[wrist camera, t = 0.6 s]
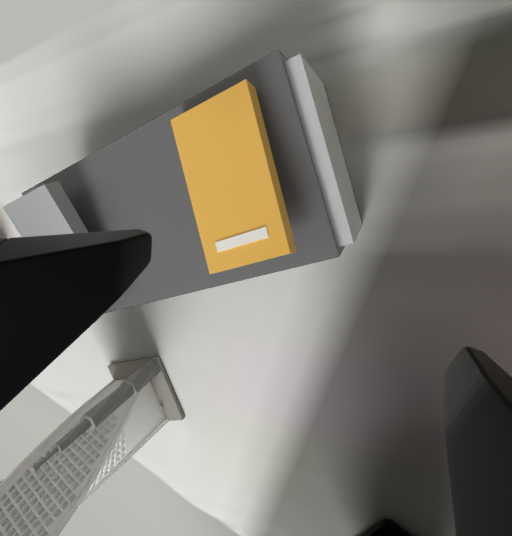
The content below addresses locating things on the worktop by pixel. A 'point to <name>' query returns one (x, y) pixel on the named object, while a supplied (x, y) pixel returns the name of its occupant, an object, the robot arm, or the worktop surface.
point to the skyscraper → (87, 449)
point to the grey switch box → (177, 195)
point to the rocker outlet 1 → (45, 212)
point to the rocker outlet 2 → (233, 180)
